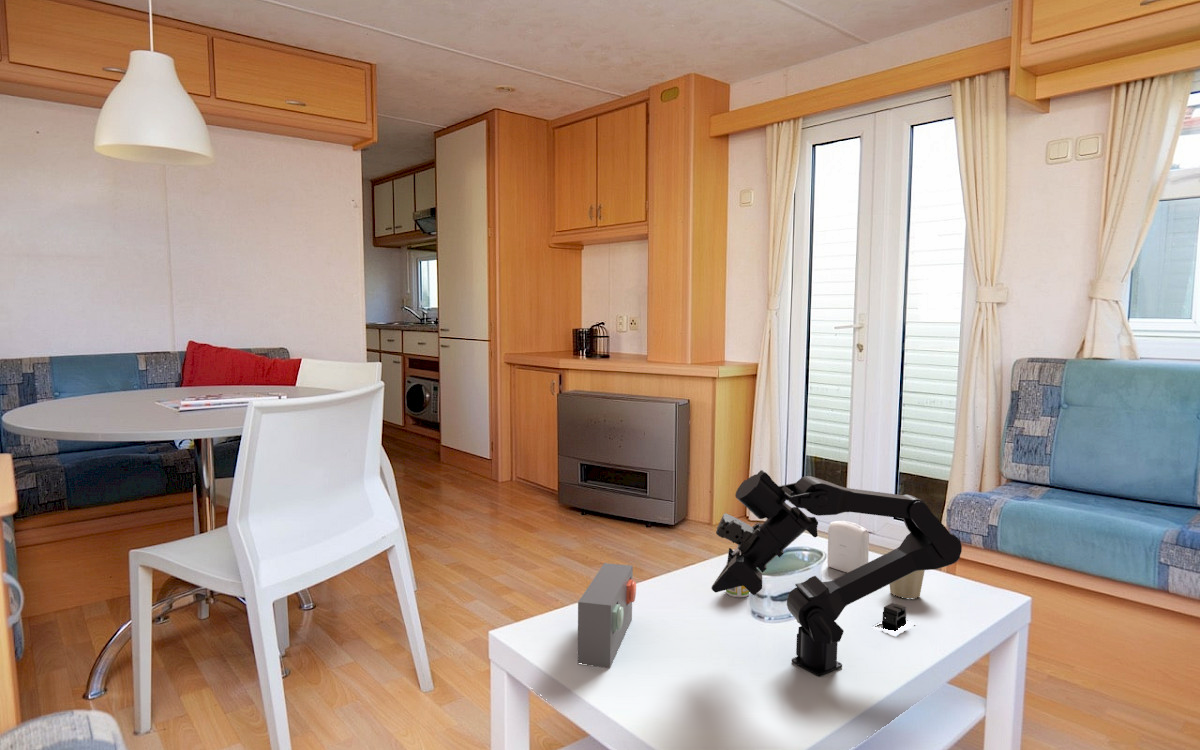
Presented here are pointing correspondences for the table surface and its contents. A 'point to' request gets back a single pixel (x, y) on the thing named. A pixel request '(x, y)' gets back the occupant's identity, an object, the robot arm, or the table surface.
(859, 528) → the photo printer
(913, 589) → the flower pot
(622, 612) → the button green
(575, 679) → the table surface
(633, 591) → the button red
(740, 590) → the supplement bottle
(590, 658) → the control box
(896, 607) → the black grooved cube
